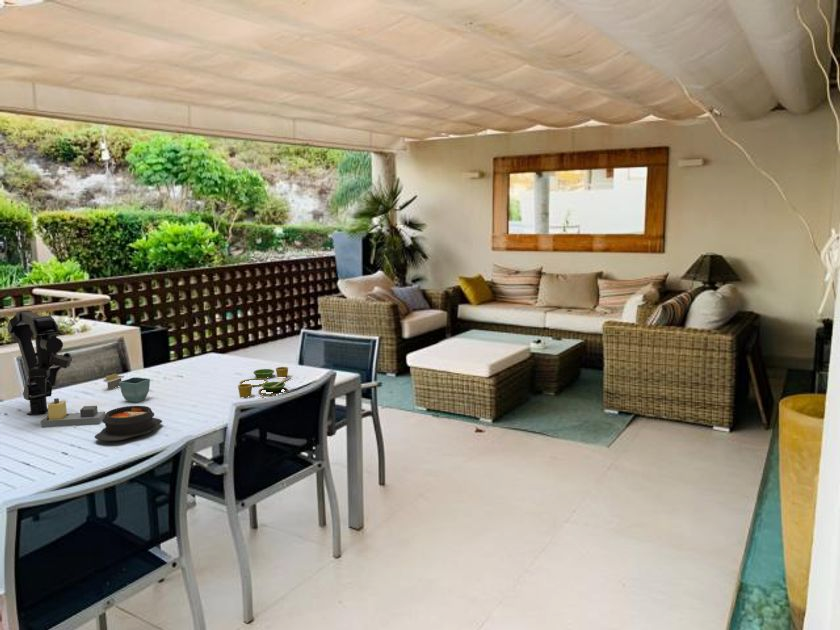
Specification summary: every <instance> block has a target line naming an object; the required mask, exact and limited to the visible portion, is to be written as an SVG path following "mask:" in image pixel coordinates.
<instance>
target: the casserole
mask: <svg viewBox="0 0 840 630" xmlns="http://www.w3.org/2000/svg"><path fill="white" fill-rule="evenodd" d="M154 416H155V413H154V412H153V411H152V409H151V407H150V406H146V405H129V406H122V407H116V408H114V409H111V410H109V411H107V412H105V417H104V419H103V420H102V423H104V426H105V427H104V428H102V429H101V430H100V432H98V433H97V434H95V435H94V439H96V440H97V441H102V442H103V441H104V442H119V441H125V440H127V439H133V438H138V437H141V436H144V435H146V434H149V433H152V432H153V431H155V430H156V429H157V428H158V426H159V425H160V424H162V422H163V420H162V419H160V418H158V417H154Z"/></svg>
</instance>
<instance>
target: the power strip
mask: <svg viewBox="0 0 840 630" xmlns="http://www.w3.org/2000/svg"><path fill="white" fill-rule="evenodd" d="M105 414H106V411H98V405H85V406H83V407H82V408H80V409H79V412H70V413H69V412H67V417H66V418H64V419H56V420H49V414H47V415H45V416H44V418H42V419H41V420H40V427H41V428H53V427H54V428H55V426H58V427H69V426H70V427H73V425H76V426H90V425H93V426H94V425H100V424H101V423H103V421H102V420H103V419H104V417H105Z"/></svg>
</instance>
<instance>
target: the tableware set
mask: <svg viewBox="0 0 840 630" xmlns="http://www.w3.org/2000/svg"><path fill="white" fill-rule="evenodd" d="M275 371H276V378H277V377H286V376H287V378H283V380H281V381H268V380H267V379H268V378H267V377H270V378H271V377H272V376H273V374H274V373H275ZM252 373H253V374H254V376H255V377H256V378H247V379H243V380H240V381H239V384H238V385H237V389H238V394H239V395H238V396H239V398H241V397H248V396H252V391H253V387H252V386H258V387H260V386H259V385H262V386H261V387H262V388H260V389H258V393H259V394H260V395H259V396H260V397H262V398H261V399H265V398H264V397H265V396H264V395H270V396H269V397H273V396H272V395H276V394H279V393H283V392H281V390H282V389H284V390H285V391H284V392H286V391H287V392H288V391H289V390H288V387H284V386H286V383H287V382H288V381H291V380H292V378H291V377H290V376H288V373H289V367H288V366H279V367H275V370H274V369H271V368H261V369H256V370H254V371H253V372H252ZM257 377H258V378H257ZM259 378H267V379H259ZM249 380H264V381H266V382H265V383H263V384H259V385H251V384H242V383H243V382H245V381H249ZM286 381H287V382H286ZM284 382H285V383H284ZM262 390H266V392H273V393H271V394H266V393H261V391H262ZM287 392H286V393H287ZM261 394H263V395H261Z"/></svg>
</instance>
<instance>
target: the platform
mask: <svg viewBox="0 0 840 630" xmlns="http://www.w3.org/2000/svg"><path fill="white" fill-rule="evenodd" d="M124 377H125V376H124V375H119V373H117V374H116V373H112V374H110V375H106V376H105V379H103V381H102V382H104V383H107V384H106V385H107V390H109V391H111V390H110V389H112V390H114V389H113V388H115V387H118V386H120V383H119V382H121V381H122V379H123V378H124ZM118 388H119V387H118ZM115 389H116V388H115Z"/></svg>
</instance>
